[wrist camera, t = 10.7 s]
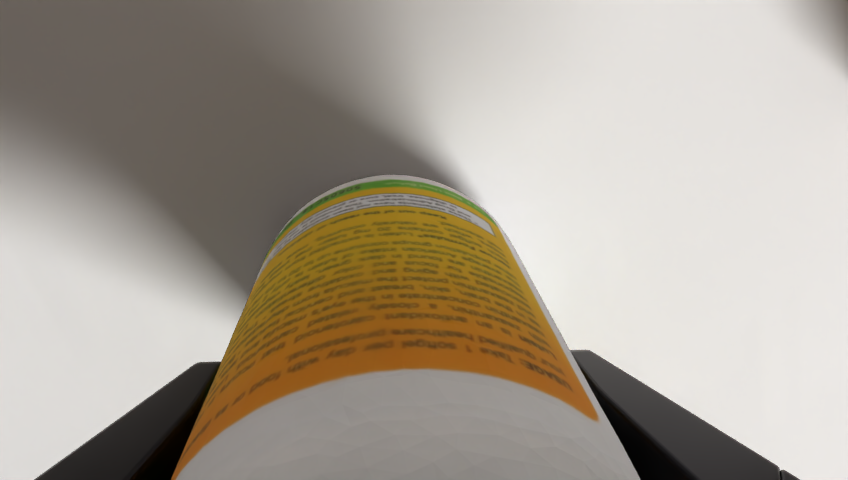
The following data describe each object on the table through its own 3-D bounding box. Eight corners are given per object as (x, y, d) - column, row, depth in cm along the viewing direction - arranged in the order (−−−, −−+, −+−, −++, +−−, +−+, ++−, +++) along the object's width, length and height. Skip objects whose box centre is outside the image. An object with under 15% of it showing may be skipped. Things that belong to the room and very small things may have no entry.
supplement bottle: (207, 261, 11) (-424, 1229, 2) (432, 114, 10) (745, 760, 2) (361, 430, 13) (328, 1302, 4) (559, 318, 12) (1012, 1107, 4)
